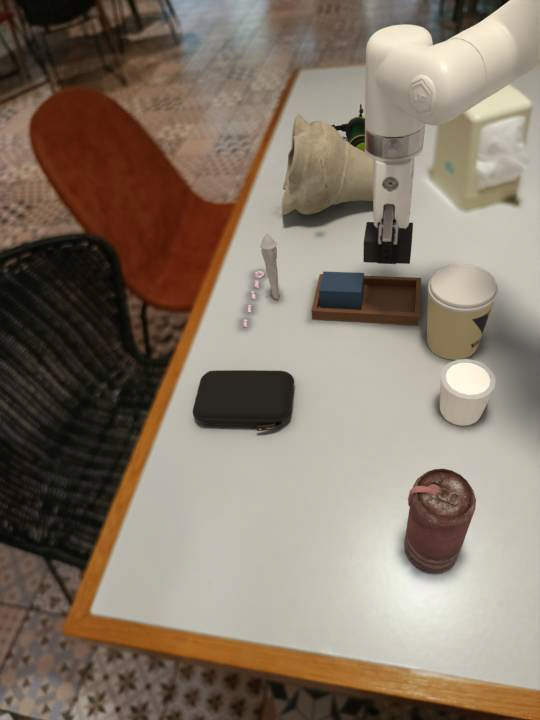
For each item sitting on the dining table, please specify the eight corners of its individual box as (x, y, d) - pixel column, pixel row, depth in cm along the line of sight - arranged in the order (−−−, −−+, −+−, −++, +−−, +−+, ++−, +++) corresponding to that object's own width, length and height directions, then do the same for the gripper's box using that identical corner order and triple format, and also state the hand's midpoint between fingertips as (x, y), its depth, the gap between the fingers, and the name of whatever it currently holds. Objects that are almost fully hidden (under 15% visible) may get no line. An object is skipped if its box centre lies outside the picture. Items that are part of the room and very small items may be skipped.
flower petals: (255, 271, 100) (255, 269, 100) (265, 272, 100) (265, 269, 99) (238, 327, 91) (238, 325, 90) (249, 328, 90) (249, 325, 90)
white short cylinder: (446, 383, 77) (453, 351, 72) (493, 401, 74) (503, 370, 69) (427, 416, 74) (432, 385, 69) (475, 437, 71) (484, 406, 65)
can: (398, 524, 64) (405, 466, 54) (452, 522, 63) (469, 463, 53) (405, 574, 60) (414, 522, 50) (462, 574, 59) (484, 520, 49)
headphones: (405, 124, 111) (311, 133, 114) (403, 167, 118) (314, 173, 121) (399, 93, 121) (313, 101, 124) (397, 134, 129) (316, 140, 132)
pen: (273, 292, 96) (262, 227, 85) (286, 295, 95) (277, 230, 84) (267, 301, 94) (255, 236, 84) (280, 304, 93) (270, 239, 83)
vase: (428, 112, 106) (291, 91, 105) (450, 145, 90) (289, 121, 89) (397, 212, 120) (277, 194, 119) (412, 257, 103) (272, 237, 102)
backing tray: (420, 286, 92) (421, 277, 90) (418, 325, 86) (419, 316, 84) (320, 282, 96) (319, 273, 94) (312, 319, 90) (311, 310, 88)
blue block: (364, 290, 92) (364, 272, 89) (361, 310, 89) (361, 292, 86) (324, 288, 94) (323, 271, 91) (320, 308, 90) (318, 290, 87)
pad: (411, 243, 83) (413, 222, 80) (409, 264, 80) (411, 242, 77) (366, 242, 84) (366, 221, 81) (363, 262, 81) (363, 241, 78)
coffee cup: (480, 369, 78) (495, 310, 69) (416, 358, 81) (423, 300, 72) (486, 326, 84) (501, 266, 75) (426, 317, 87) (434, 258, 78)
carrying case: (191, 434, 77) (290, 436, 75) (185, 422, 75) (288, 424, 72) (204, 378, 84) (296, 378, 81) (200, 365, 82) (294, 365, 79)
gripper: (422, 172, 62) (410, 288, 75) (425, 107, 73) (414, 219, 86) (358, 172, 64) (358, 286, 77) (370, 109, 74) (368, 218, 88)
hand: (388, 249), depth 81 cm, fingers closed on pad, 5 cm apart
